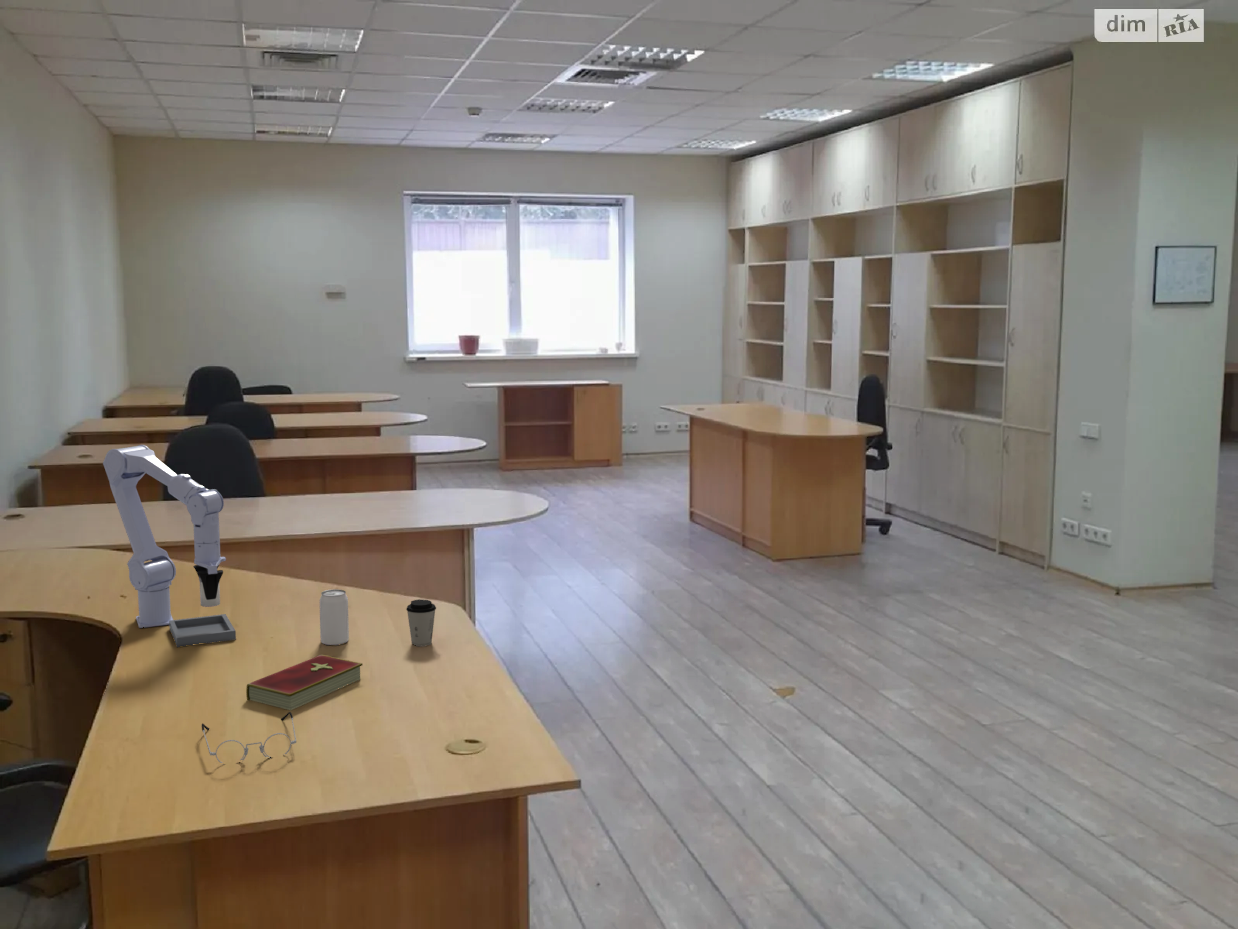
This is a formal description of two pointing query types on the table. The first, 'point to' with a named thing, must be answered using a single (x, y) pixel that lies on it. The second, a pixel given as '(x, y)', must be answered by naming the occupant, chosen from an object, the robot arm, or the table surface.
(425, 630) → the coffee cup
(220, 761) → the eyeglasses
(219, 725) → the table surface
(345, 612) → the can
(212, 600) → the shaker
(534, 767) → the table surface
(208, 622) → the tray
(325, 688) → the hardcover book
